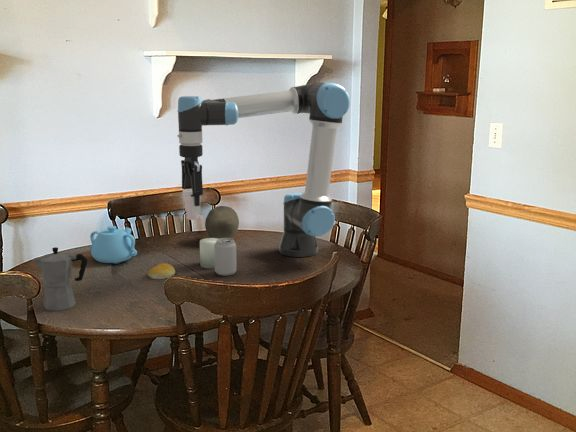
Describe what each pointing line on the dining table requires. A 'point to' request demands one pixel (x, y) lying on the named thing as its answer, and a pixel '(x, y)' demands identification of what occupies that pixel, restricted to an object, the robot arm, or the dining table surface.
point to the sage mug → (207, 252)
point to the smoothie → (189, 204)
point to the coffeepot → (59, 278)
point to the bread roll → (161, 271)
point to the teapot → (113, 245)
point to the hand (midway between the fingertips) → (192, 212)
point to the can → (225, 256)
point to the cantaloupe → (222, 222)
